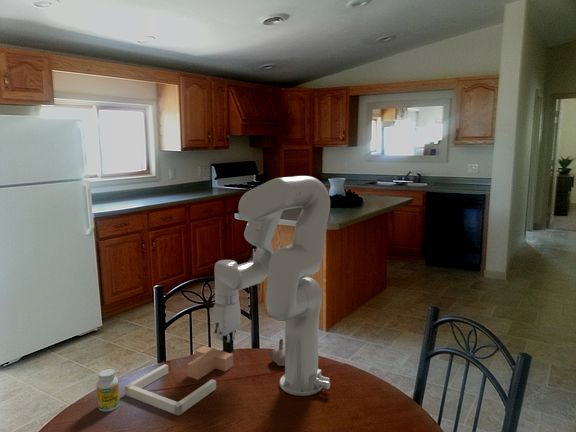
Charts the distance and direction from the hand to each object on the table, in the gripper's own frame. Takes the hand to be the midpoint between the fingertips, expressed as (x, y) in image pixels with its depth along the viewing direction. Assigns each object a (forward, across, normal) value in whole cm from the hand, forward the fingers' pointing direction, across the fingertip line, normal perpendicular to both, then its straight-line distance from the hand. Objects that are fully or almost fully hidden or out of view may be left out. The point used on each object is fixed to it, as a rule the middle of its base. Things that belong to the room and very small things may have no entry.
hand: (228, 351), depth 147 cm
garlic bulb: (+2, -4, +18) cm, 19 cm away
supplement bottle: (+2, +40, -9) cm, 41 cm away
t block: (+1, +11, 0) cm, 11 cm away
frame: (+1, +27, 0) cm, 27 cm away
